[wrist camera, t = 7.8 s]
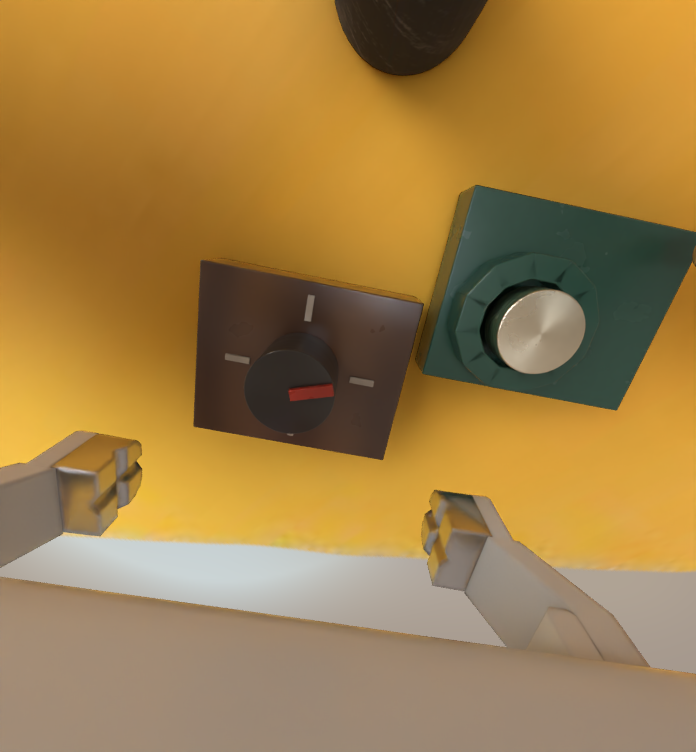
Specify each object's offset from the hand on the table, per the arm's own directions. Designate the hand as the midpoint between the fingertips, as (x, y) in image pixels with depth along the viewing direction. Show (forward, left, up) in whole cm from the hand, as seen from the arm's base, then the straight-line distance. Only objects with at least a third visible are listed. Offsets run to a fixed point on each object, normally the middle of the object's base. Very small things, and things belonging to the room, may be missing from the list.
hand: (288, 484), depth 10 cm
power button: (+10, +4, -10) cm, 14 cm away
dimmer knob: (-1, -1, -11) cm, 11 cm away
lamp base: (+12, +5, -14) cm, 19 cm away
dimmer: (-1, -1, -14) cm, 14 cm away
